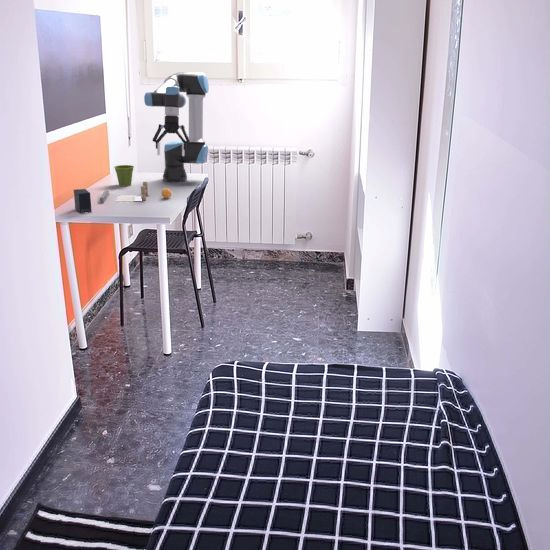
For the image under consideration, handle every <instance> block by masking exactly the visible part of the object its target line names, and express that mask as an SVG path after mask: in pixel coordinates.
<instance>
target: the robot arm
mask: <svg viewBox="0 0 550 550" xmlns="http://www.w3.org/2000/svg"><path fill="white" fill-rule="evenodd" d="M209 89H210V87H209V78H208V77H207V75H206V74H205V72H184V71H182V72H176V73H173V74H171V75H169V76H168V77H167V78H165V79H164V81H163V83H162V84H161V85H159V86H158V87H157V88H156V89H155V90H154V91H152V92H151V91H149V92H145V94H144V95H143V96H144V97H143V98H144V99H143V100H144V105H145V106H147V107H157V108H158V107H159V108H160V107H163V108H164V124H158V127H157V129H156V132H155V133H154V136H153V138H152V142H154V143H155V150H156V149H157V156H161V141H162V139H163V138H164V137H165V136H166V135H167V134H176V135H177V136H178V138H179V139H180V141H171V142H167V143H165V144H164V150H163V153H164V171H163V174H162V180H163V179H164V180H167V181H166V182H169V181H175V182H177V183H178V182H183V181H187V180H188V174H187V172H186V169H185V164H195V165H200V164H204V163H206V161H207V159H208V156H209V155H208V154H209V146H208V145H207V144H206V141H205V140H204V137H203V136H204V135H203V132H204V131H203V129H204V128H203V127H204V119H203V118H204V98H205V97H206V94H207V93H209ZM182 93H186V94H185V95H186V96H184V94H182ZM186 97H187V98H188V134H187V132H186V130H185V125H183V124H181V125H180V123H179V121H180V117H179V115H180V109H182V108H184V106H185V105H186V103H187V99H186ZM163 129H164V130H163ZM179 129H180V130H181V132H182V134H183V136H184V137H183V136H182V134H181V133H180V132H179ZM162 130H163V131H162ZM161 132H162V133H161ZM164 180H163V181H164ZM175 182H174V183H175Z"/></svg>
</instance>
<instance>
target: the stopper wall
mask: <svg viewBox="0 0 550 550" xmlns="http://www.w3.org/2000/svg"><path fill="white" fill-rule="evenodd" d="M109 196H110V190H109V189H104V190H103V192H102V194H101V195H100V197H99V204H105V203H106V201H107V199H108V197H109Z"/></svg>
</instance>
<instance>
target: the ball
mask: <svg viewBox="0 0 550 550" xmlns="http://www.w3.org/2000/svg"><path fill="white" fill-rule="evenodd" d="M161 196H162V198H164V199H169V198H171V197H172V190H171V189H170V188H163V189H162V191H161Z"/></svg>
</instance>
